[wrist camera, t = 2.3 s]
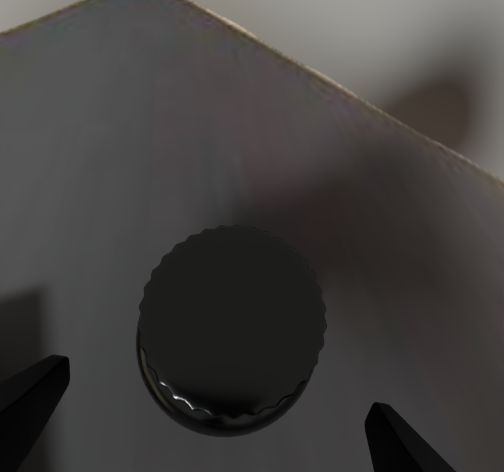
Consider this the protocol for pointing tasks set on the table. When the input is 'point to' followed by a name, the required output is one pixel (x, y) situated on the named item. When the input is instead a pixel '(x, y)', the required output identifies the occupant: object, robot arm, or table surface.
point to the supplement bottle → (229, 330)
